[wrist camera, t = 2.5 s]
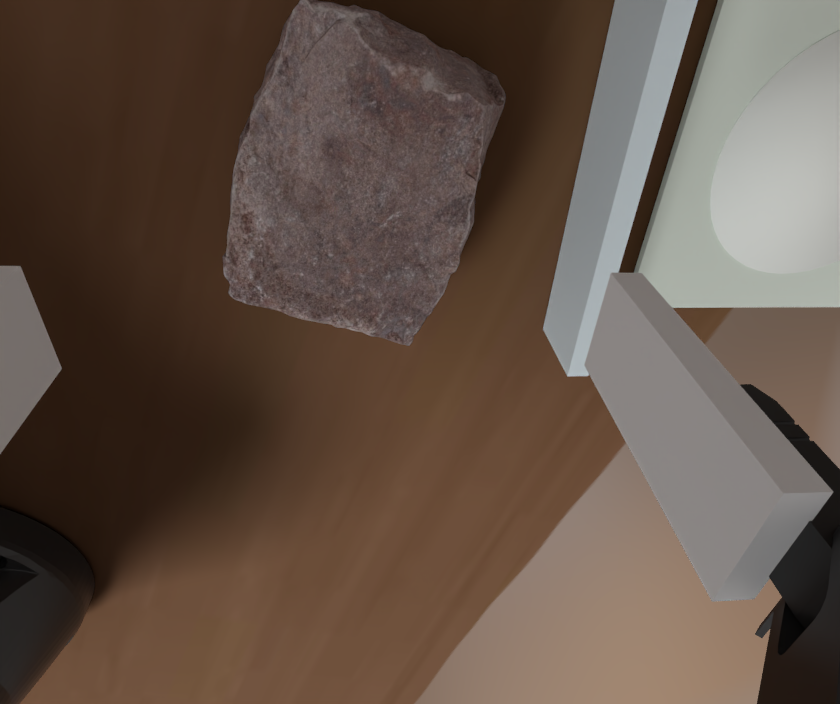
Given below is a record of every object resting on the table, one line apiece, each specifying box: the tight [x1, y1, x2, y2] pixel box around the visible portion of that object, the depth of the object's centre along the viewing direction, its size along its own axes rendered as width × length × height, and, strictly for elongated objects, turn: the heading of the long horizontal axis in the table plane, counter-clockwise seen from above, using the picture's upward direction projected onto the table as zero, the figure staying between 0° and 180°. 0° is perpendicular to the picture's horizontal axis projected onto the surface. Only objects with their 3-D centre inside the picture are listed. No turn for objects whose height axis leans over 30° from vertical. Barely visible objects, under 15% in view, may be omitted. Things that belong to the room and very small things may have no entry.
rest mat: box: [634, 0, 840, 308], centre depth 25 cm, size 15×15×1 cm
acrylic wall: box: [543, 0, 698, 376], centre depth 22 cm, size 1×16×4 cm, turn 176°
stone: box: [223, 0, 506, 346], centre depth 21 cm, size 12×9×5 cm
